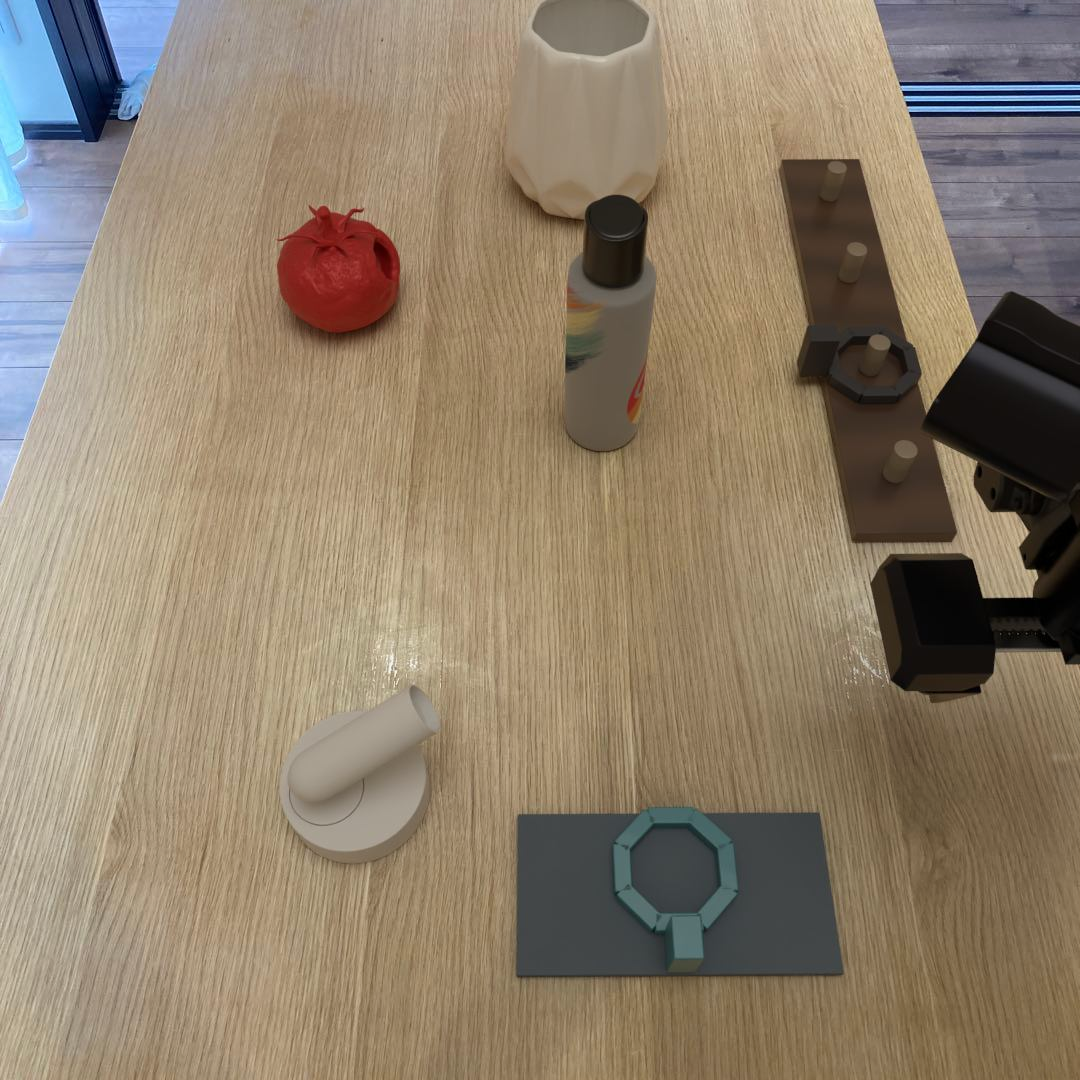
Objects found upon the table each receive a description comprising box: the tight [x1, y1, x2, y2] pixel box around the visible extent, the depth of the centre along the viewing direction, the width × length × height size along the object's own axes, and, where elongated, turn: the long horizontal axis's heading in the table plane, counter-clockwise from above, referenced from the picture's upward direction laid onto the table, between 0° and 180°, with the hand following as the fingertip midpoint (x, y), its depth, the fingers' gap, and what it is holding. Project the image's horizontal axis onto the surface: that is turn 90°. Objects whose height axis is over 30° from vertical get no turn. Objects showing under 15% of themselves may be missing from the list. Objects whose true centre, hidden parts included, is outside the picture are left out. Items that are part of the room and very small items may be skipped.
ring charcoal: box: [796, 324, 923, 404], centre depth 78 cm, size 9×7×4 cm
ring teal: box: [612, 806, 739, 973], centre depth 57 cm, size 9×7×4 cm
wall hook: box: [279, 683, 442, 865], centre depth 59 cm, size 9×10×10 cm
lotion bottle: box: [563, 195, 657, 452], centre depth 70 cm, size 6×6×20 cm
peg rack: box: [779, 158, 958, 543], centre depth 81 cm, size 40×7×4 cm, turn 0°
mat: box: [516, 811, 845, 978], centre depth 59 cm, size 18×9×1 cm, turn 90°
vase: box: [504, 0, 670, 221], centre depth 87 cm, size 14×14×15 cm
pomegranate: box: [275, 204, 401, 334], centre depth 81 cm, size 10×10×9 cm
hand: (1018, 693), depth 54 cm, fingers open, 9 cm apart
